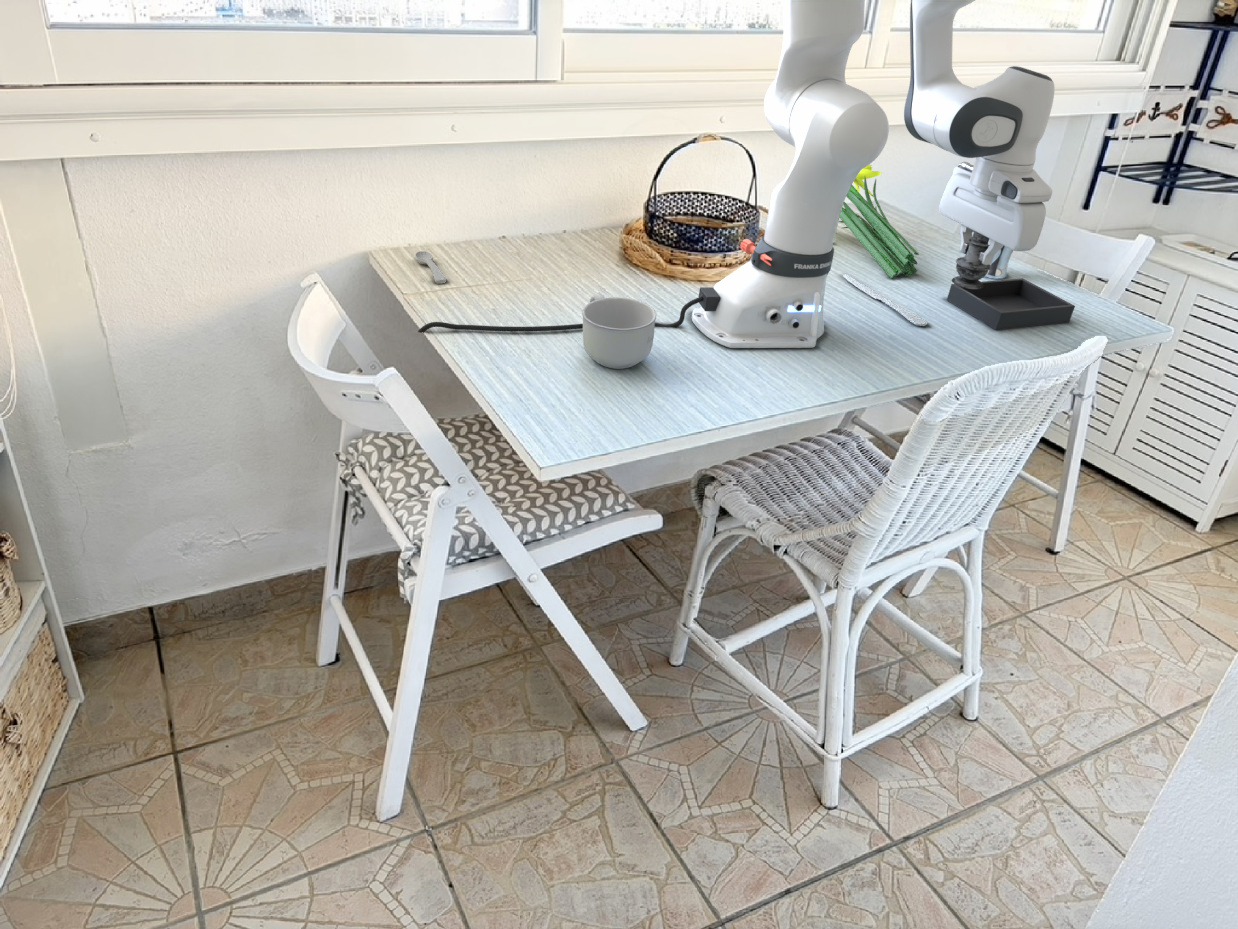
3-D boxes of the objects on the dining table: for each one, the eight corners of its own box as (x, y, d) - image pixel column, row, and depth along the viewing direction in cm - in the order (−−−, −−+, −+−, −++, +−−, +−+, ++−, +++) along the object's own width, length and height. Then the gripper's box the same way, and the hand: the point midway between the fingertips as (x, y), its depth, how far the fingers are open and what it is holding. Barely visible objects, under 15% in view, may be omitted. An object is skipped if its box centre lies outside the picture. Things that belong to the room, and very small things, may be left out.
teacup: (660, 374, 136) (666, 324, 131) (589, 378, 132) (593, 327, 128) (632, 334, 147) (637, 286, 142) (566, 337, 144) (569, 288, 139)
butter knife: (917, 324, 159) (930, 323, 160) (837, 273, 177) (850, 272, 178) (916, 327, 159) (930, 325, 161) (837, 275, 177) (849, 274, 179)
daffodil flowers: (856, 284, 177) (777, 184, 198) (892, 312, 187) (813, 213, 208) (925, 219, 170) (835, 122, 191) (959, 251, 180) (870, 155, 201)
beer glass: (1015, 277, 187) (1039, 203, 179) (994, 281, 183) (1018, 207, 175) (986, 265, 191) (1009, 193, 183) (965, 269, 188) (988, 196, 180)
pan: (995, 330, 162) (1001, 312, 160) (946, 300, 172) (951, 283, 170) (1069, 322, 168) (1075, 305, 167) (1017, 293, 178) (1022, 278, 177)
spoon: (428, 257, 166) (428, 246, 165) (449, 286, 158) (449, 275, 157) (412, 258, 165) (412, 248, 164) (433, 288, 157) (433, 277, 156)
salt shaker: (987, 292, 156) (1009, 222, 149) (951, 286, 156) (972, 217, 150) (982, 279, 161) (1004, 212, 154) (948, 274, 161) (968, 207, 155)
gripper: (943, 158, 155) (921, 238, 163) (1029, 195, 140) (1001, 281, 147) (972, 157, 158) (949, 236, 165) (1061, 194, 142) (1031, 279, 149)
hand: (974, 258), depth 156 cm, fingers closed on salt shaker, 3 cm apart
